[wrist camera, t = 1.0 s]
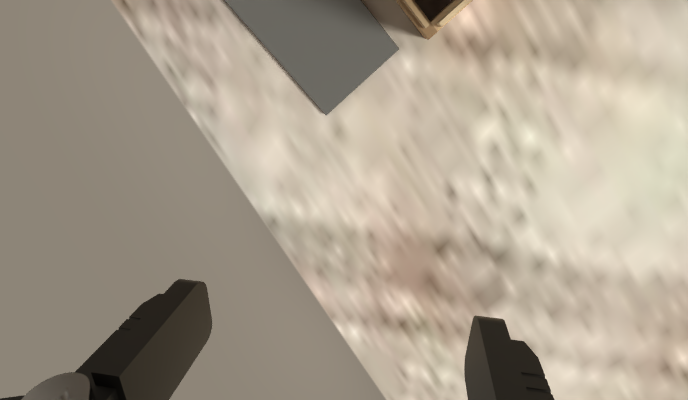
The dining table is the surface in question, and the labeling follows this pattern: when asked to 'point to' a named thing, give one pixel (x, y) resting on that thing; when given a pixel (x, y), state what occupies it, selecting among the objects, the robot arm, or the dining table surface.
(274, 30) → the mat
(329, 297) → the dining table surface
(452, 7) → the carton
